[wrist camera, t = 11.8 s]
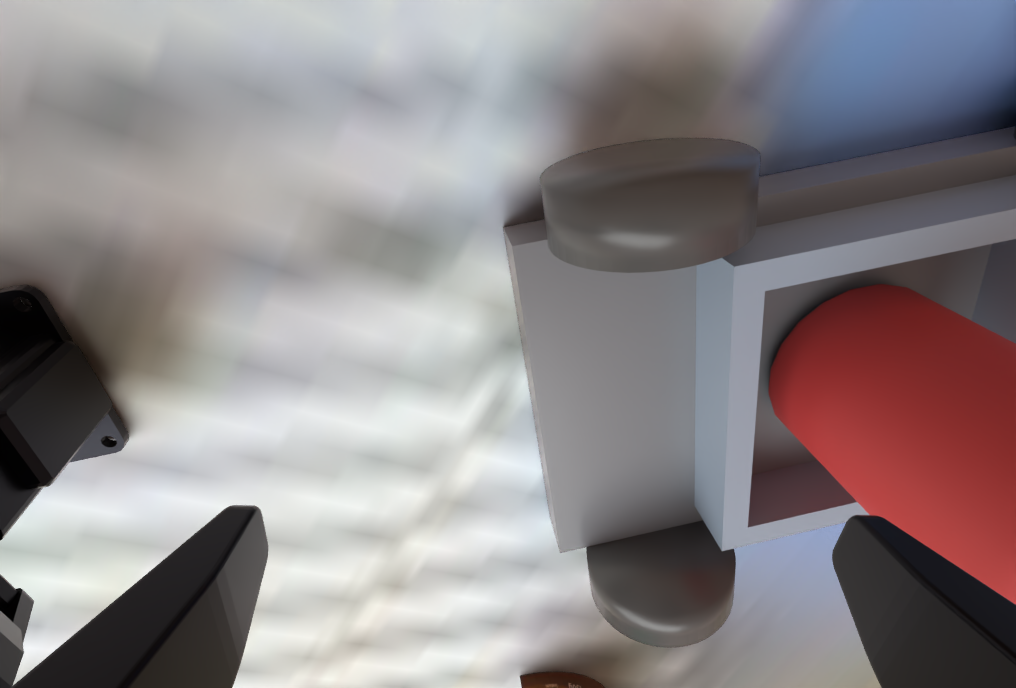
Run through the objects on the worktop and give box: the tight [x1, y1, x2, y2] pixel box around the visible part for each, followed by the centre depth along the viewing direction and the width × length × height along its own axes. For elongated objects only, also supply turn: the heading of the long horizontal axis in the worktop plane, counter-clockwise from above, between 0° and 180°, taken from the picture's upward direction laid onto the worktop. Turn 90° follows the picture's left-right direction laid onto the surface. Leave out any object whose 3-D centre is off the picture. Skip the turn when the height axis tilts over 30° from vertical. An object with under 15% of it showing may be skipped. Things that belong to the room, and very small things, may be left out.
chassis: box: [503, 126, 1016, 648], centre depth 21 cm, size 24×18×6 cm
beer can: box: [768, 284, 1016, 604], centre depth 17 cm, size 7×7×12 cm
